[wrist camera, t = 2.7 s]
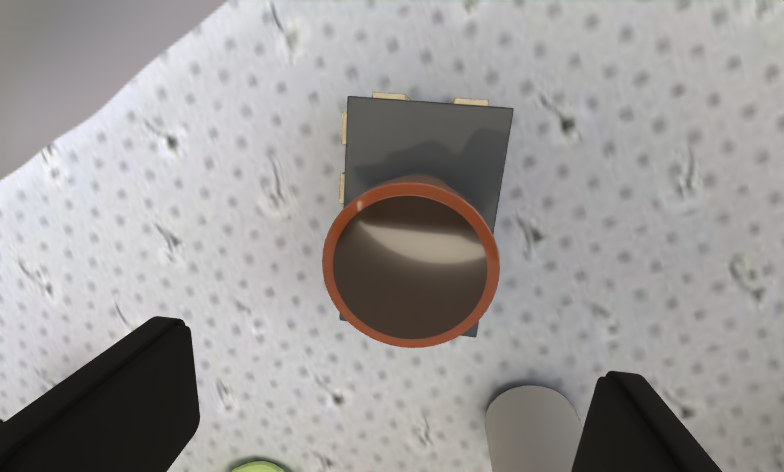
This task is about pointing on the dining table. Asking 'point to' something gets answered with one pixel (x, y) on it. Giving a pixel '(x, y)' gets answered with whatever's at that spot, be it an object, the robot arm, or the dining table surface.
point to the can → (532, 431)
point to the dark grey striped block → (426, 147)
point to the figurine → (258, 467)
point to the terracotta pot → (411, 262)
